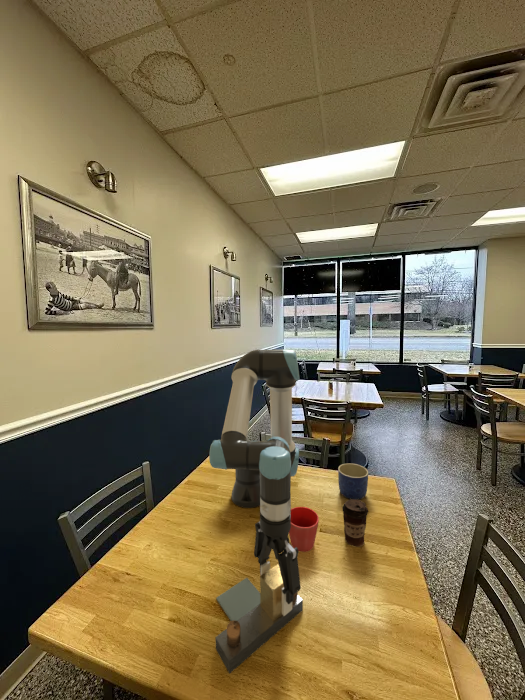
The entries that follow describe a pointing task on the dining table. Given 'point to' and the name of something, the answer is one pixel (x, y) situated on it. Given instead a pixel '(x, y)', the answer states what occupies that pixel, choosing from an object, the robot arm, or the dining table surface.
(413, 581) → the dining table surface
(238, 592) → the mat
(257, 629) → the plane body
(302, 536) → the flower pot
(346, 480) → the planter
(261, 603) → the tan wooden block
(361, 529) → the coffee cup
